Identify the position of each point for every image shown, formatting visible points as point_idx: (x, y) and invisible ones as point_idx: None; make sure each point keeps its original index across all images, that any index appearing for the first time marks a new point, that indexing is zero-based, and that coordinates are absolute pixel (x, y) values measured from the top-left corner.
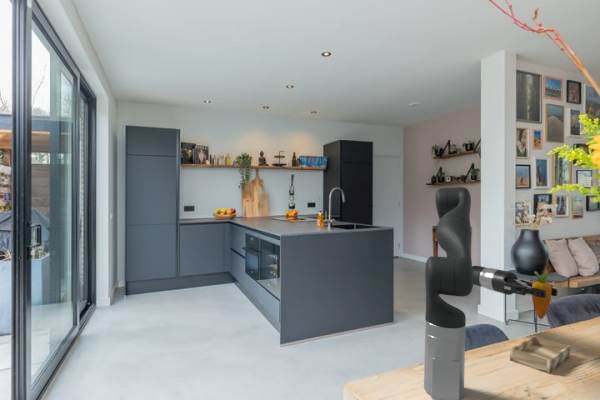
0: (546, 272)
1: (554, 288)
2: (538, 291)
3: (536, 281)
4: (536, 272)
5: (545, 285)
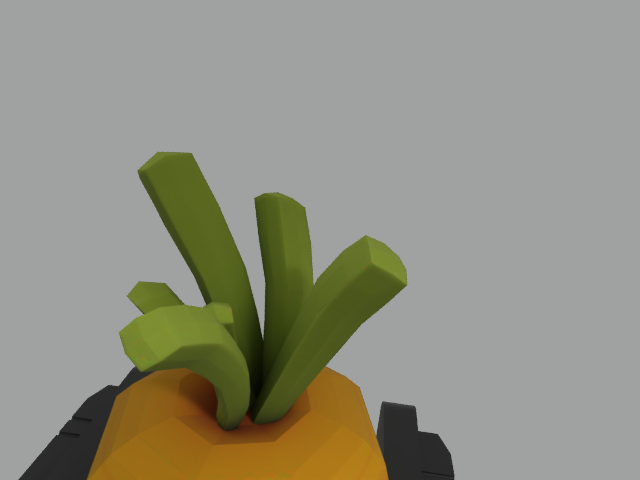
0: (204, 190)
1: (131, 379)
2: (449, 468)
3: (237, 477)
4: (382, 252)
5: (325, 366)
